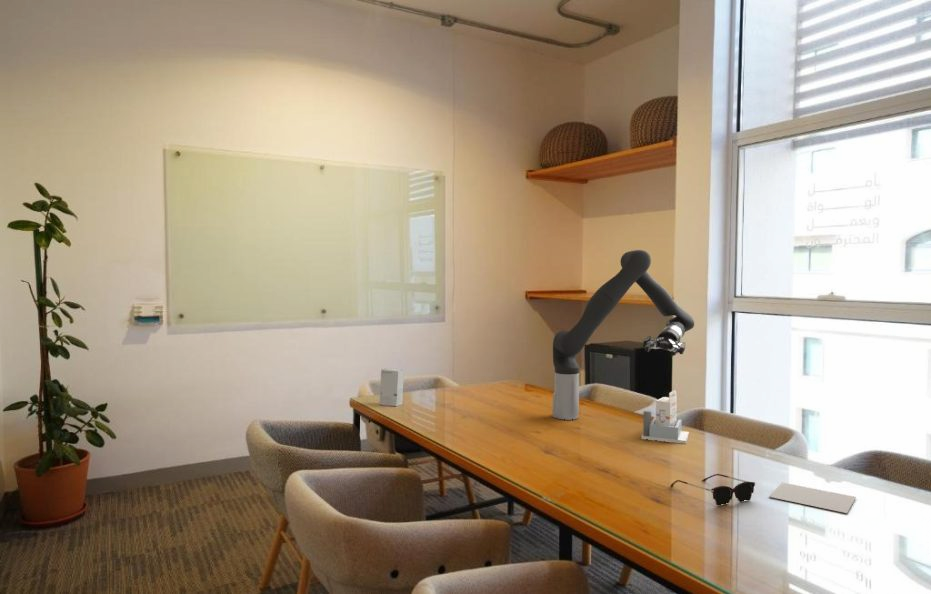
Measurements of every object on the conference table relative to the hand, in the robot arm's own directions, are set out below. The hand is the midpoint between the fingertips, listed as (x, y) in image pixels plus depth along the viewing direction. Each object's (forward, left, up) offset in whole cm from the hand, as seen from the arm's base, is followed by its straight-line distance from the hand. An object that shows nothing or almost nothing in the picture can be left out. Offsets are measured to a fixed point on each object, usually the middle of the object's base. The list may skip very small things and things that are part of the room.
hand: (659, 351), depth 224 cm
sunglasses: (+20, -64, -28) cm, 73 cm away
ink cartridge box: (+4, -10, -27) cm, 29 cm away
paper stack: (+49, -53, -28) cm, 78 cm away
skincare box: (-106, -6, -28) cm, 110 cm away
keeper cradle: (+4, -11, -28) cm, 30 cm away
